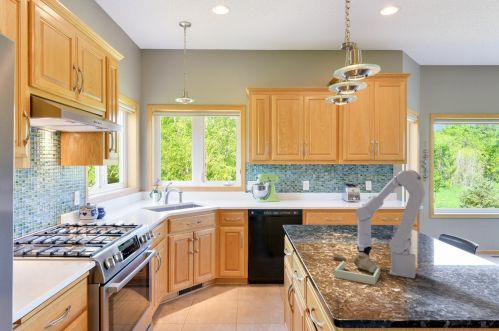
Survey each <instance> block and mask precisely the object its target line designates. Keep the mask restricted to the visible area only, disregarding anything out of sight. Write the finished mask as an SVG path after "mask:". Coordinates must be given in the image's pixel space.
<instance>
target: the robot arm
mask: <svg viewBox="0 0 499 331" xmlns="http://www.w3.org/2000/svg"><path fill="white" fill-rule="evenodd" d="M422 181H423V180H422V176H420V174H419V173H418V172H417V171H415V170H414V169H409V170H401V171H399V172H398V173H397V174H396V175H395V176H393V177H392V178H391V180H389V181H388V183H387V184H386V185H385V186H384V187H383V188H382V189H381V190H380V191H379V192H378V193H377V194H372V195H370V196H368V200H366V202H365V203H362V204H361V207H357V209H356V210H355V217H356V219H357V241H356V240H355V242H354V244H356V245H358V246H357V247H356V248H357V250H358V253H360V252H363V253H365V254H367V255H368V256H369V257H370V253H371V250H372V245H373V244H372V223H371V222H372V220H371V219H372V218H373V216H374V214H375V213H376V212H377V211H378V210H379V209H380V208H381V207H382V206H384V200H385V199H386V198H387V197H388V196H389V195H390V194H392V193H393V192H394V191H395V190H396V189H397V188H401V187H403V188H404V189H405V190H406V191H407V194H408V195H409V196H408V199H407V202H406V205H405V207H404V208H405V209H404V211H403V214H402V217H401V219H400V222H399V225H398V228H397V230H396V232H395V233H394V236H393V237H392V239H390V240H389V241H388V242H389V243H388V248H389V250H390V270H389V272H388V275H393V276H397V277H404V278H409V279H415V278H416V274H417V268H416V266H417V265H416V264H417V262H416V261H417V260H416V259H417V258H416V254H414V253H411V251H410V248H411V246H412V240H411V238H412V232H413V229H414V225H415V222H416V220H417V217H418V215H419V211H420V209H421V206H422V203H423V200H424V197H425V195H426V194H425V193H426V192H425V188H424V184H423V182H422Z"/></svg>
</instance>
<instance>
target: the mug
mask: <svg viewBox="0 0 499 331" xmlns="http://www.w3.org/2000/svg"><path fill="white" fill-rule="evenodd" d="M353 264H354V265H355V267H356V268H358V269H360V270H365V271H367V272H369V273H371V274H374V273H375V271H376V270H377V268H378V266H377V264H375V263H374V262H373V261H372V259H371V258H370V255H369V256H368V255H367V254H365V253H363V252H360V253H359V252H358V253H356V255H355V256H354V259H353Z"/></svg>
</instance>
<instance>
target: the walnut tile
mask: <svg viewBox="0 0 499 331" xmlns="http://www.w3.org/2000/svg"><path fill="white" fill-rule="evenodd" d="M332 260H333V261H335V262H336V261H338V262H342V261H345V257H344V254H341V253H340V254H339V253H332Z"/></svg>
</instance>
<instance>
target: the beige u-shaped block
mask: <svg viewBox="0 0 499 331" xmlns="http://www.w3.org/2000/svg"><path fill="white" fill-rule="evenodd" d="M345 266H346V264H345V260H344V261H340V263H339V264H338V265H337V267H335V269H334V271H333V272H334V273H333V274H334V275H333V276H334V278H338V279H342V280H343V279H344V280H349V281H352V282H358V283H364V284H369V285H373V286H375V285H376V284H377V281H378V279H379V277H380V275H381V266H377V270H376V271H375V272H374V273H373V275H369V274H363V273H359V272H352V271H348V270H347V271H346V270H345V268H346V267H345Z"/></svg>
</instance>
